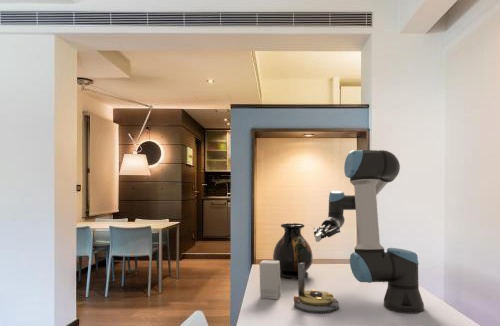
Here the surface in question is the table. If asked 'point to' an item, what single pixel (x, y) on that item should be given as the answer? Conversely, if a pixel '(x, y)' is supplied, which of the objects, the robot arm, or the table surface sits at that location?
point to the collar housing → (316, 309)
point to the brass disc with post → (305, 295)
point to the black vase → (292, 251)
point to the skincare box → (270, 279)
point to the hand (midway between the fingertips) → (317, 238)
